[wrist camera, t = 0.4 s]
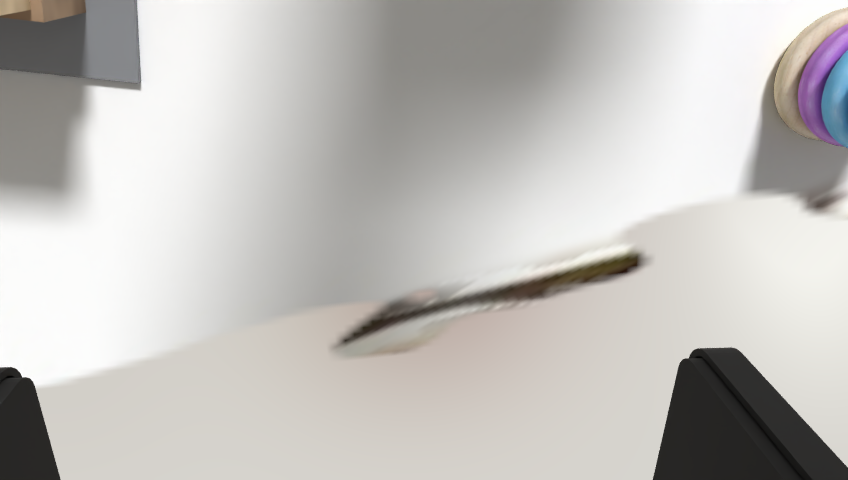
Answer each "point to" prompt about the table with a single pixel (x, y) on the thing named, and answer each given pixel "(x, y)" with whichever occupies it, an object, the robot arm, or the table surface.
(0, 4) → the tower top
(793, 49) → the stacking toy
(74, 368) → the table surface
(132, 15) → the felt pad
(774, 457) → the robot arm
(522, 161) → the table surface
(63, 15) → the tower base
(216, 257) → the table surface
